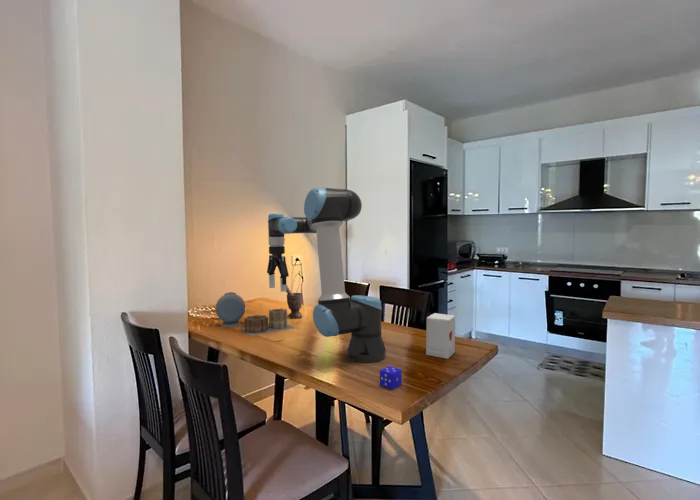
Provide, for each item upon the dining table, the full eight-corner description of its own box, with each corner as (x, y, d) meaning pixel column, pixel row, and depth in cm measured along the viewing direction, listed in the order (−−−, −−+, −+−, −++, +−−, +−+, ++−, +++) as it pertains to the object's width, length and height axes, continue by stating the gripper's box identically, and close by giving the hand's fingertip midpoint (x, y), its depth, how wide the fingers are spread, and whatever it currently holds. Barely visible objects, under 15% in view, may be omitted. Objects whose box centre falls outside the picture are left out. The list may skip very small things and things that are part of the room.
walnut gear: (271, 330, 177) (271, 318, 176) (249, 334, 171) (249, 321, 170) (262, 326, 185) (262, 314, 185) (241, 329, 179) (241, 317, 179)
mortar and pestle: (289, 321, 201) (289, 283, 200) (279, 318, 207) (278, 282, 206) (305, 317, 210) (305, 281, 209) (295, 314, 216) (295, 280, 214)
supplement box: (448, 359, 141) (448, 320, 141) (425, 355, 146) (425, 317, 145) (455, 352, 149) (455, 315, 148) (433, 348, 154) (433, 312, 153)
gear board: (294, 331, 182) (294, 317, 181) (250, 339, 169) (250, 324, 169) (282, 324, 193) (282, 312, 193) (240, 331, 181) (239, 318, 180)
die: (392, 390, 115) (392, 374, 115) (379, 385, 119) (379, 370, 118) (401, 385, 119) (401, 369, 119) (388, 380, 122) (388, 365, 122)
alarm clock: (245, 323, 196) (244, 290, 195) (246, 328, 187) (245, 293, 186) (216, 326, 192) (215, 291, 191) (215, 331, 182) (214, 295, 181)
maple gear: (290, 327, 183) (290, 310, 182) (273, 330, 178) (273, 313, 178) (282, 323, 190) (282, 307, 190) (266, 326, 185) (266, 310, 185)
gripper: (295, 246, 174) (296, 292, 175) (273, 244, 194) (274, 285, 195) (280, 246, 169) (281, 293, 171) (259, 245, 190) (260, 287, 191)
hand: (277, 289), depth 183 cm, fingers open, 13 cm apart
